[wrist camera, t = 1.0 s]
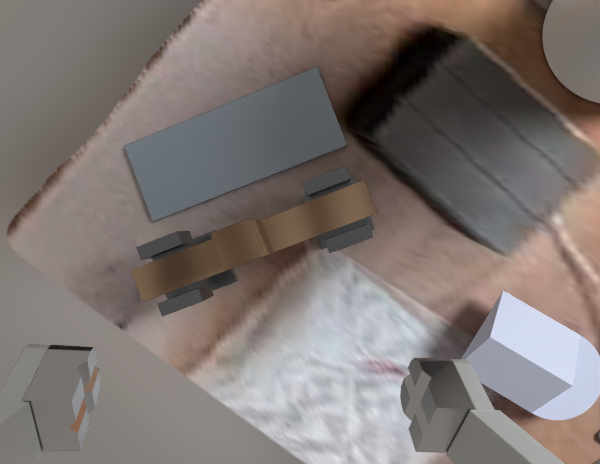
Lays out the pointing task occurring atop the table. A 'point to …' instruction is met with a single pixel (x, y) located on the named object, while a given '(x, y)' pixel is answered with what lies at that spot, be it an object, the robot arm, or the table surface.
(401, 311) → the table surface
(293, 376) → the table surface
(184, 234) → the hook posts
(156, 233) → the table surface
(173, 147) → the slate mat
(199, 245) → the walnut rail
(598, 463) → the office telephone
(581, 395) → the white wedge
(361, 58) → the table surface
